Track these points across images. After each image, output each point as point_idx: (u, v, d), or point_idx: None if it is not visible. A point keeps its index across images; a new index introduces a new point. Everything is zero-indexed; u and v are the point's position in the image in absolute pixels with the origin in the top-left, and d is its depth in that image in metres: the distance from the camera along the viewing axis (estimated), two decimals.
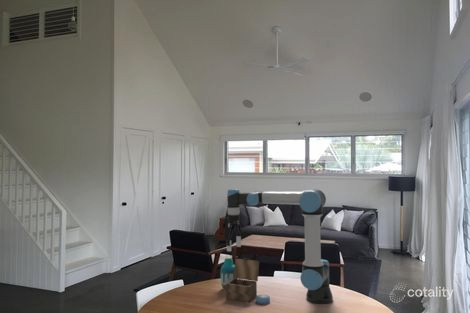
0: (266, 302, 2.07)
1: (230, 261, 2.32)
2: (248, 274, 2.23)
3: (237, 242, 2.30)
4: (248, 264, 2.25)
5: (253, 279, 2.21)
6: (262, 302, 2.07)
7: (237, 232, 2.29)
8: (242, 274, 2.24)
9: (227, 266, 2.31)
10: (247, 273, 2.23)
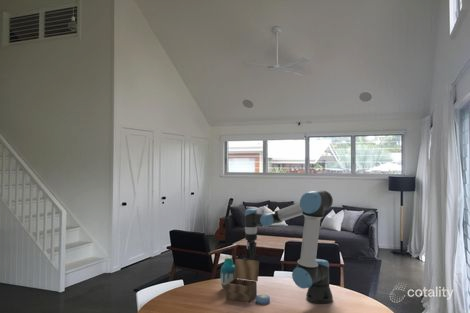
0: (266, 302, 2.07)
1: (230, 261, 2.32)
2: (248, 274, 2.23)
3: None
4: (248, 264, 2.25)
5: (253, 279, 2.21)
6: (262, 302, 2.07)
7: None
8: (242, 274, 2.24)
9: (227, 266, 2.31)
10: (247, 273, 2.23)
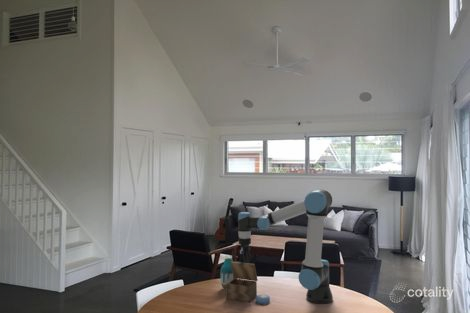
0: (266, 302, 2.07)
1: (230, 261, 2.32)
2: (247, 275, 2.21)
3: None
4: (244, 267, 2.19)
5: (253, 279, 2.20)
6: (262, 302, 2.07)
7: None
8: (241, 275, 2.23)
9: (227, 266, 2.31)
10: (245, 274, 2.21)
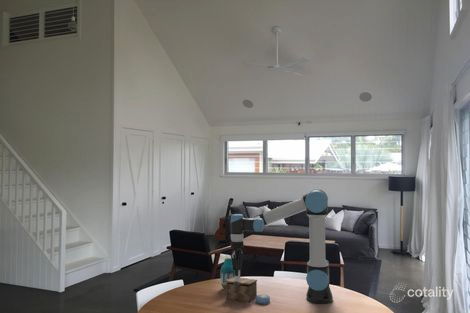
0: (266, 302, 2.07)
1: (230, 261, 2.32)
2: None
3: (236, 276, 2.13)
4: None
5: None
6: (262, 302, 2.07)
7: None
8: None
9: (227, 266, 2.31)
10: None
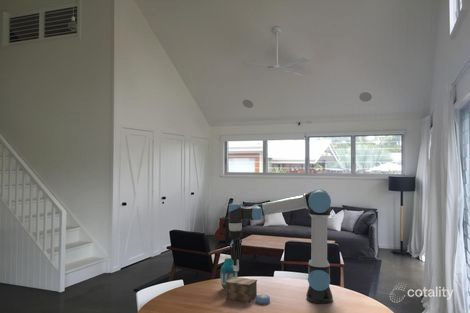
0: (266, 302, 2.07)
1: (230, 261, 2.32)
2: None
3: None
4: None
5: None
6: (262, 302, 2.07)
7: None
8: None
9: (227, 266, 2.31)
10: None
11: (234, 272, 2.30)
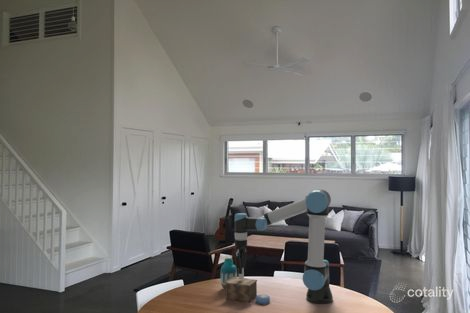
0: (266, 302, 2.07)
1: (230, 261, 2.32)
2: None
3: None
4: None
5: None
6: (262, 302, 2.07)
7: None
8: None
9: (227, 266, 2.31)
10: None
11: (234, 272, 2.30)
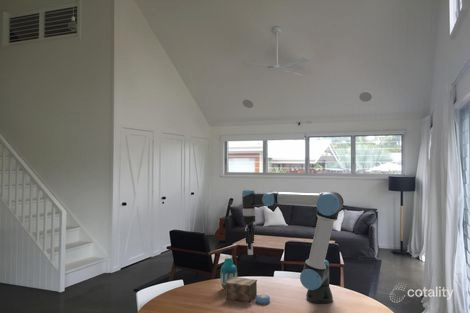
0: (266, 302, 2.07)
1: (230, 261, 2.32)
2: None
3: None
4: None
5: None
6: (262, 302, 2.07)
7: None
8: None
9: (227, 266, 2.31)
10: None
11: (234, 272, 2.30)
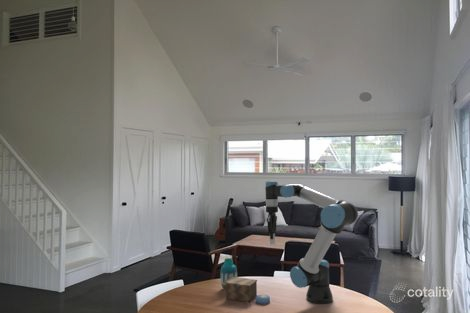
0: (266, 302, 2.07)
1: (230, 261, 2.32)
2: None
3: None
4: None
5: None
6: (262, 302, 2.07)
7: None
8: None
9: (227, 266, 2.31)
10: None
11: (234, 272, 2.30)
